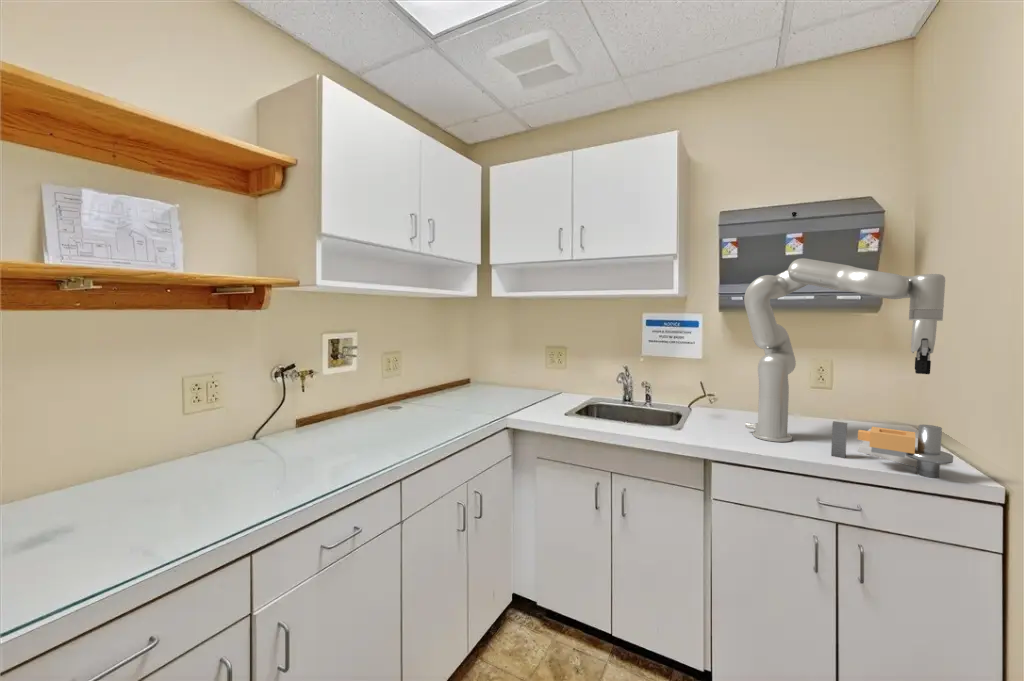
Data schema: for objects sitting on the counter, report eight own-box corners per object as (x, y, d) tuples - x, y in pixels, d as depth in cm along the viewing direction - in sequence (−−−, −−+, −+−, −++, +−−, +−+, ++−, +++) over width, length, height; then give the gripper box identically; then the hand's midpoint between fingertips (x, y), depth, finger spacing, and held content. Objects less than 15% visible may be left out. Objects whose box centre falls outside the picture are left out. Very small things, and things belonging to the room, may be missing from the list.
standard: (950, 474, 128) (953, 426, 127) (953, 484, 120) (956, 433, 119) (872, 460, 140) (874, 416, 139) (870, 469, 132) (872, 422, 131)
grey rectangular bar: (831, 455, 144) (832, 422, 144) (832, 454, 146) (833, 421, 145) (845, 458, 142) (846, 424, 141) (845, 456, 144) (847, 422, 143)
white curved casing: (856, 451, 149) (864, 422, 150) (864, 454, 151) (872, 425, 151) (916, 467, 134) (924, 435, 134) (925, 470, 135) (933, 438, 136)
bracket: (914, 447, 132) (915, 432, 132) (914, 453, 126) (915, 438, 126) (859, 439, 141) (859, 424, 140) (856, 444, 135) (857, 430, 134)
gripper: (908, 315, 143) (905, 368, 144) (909, 315, 130) (905, 374, 131) (940, 315, 138) (937, 370, 139) (945, 316, 125) (940, 376, 126)
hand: (921, 372), depth 135 cm, fingers open, 9 cm apart
